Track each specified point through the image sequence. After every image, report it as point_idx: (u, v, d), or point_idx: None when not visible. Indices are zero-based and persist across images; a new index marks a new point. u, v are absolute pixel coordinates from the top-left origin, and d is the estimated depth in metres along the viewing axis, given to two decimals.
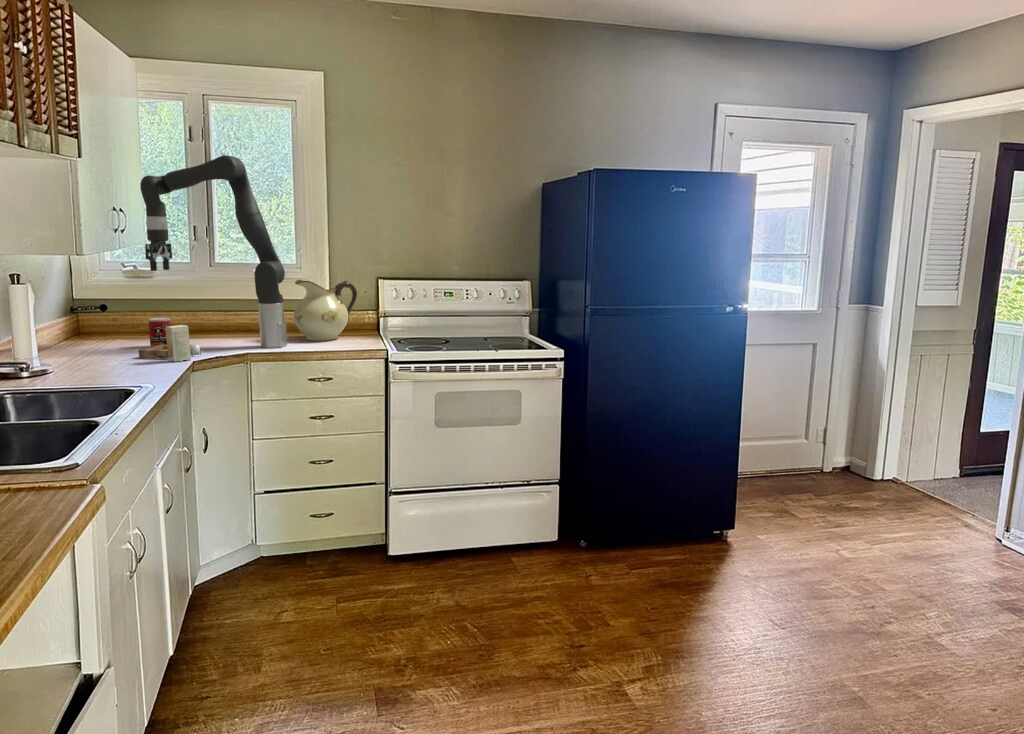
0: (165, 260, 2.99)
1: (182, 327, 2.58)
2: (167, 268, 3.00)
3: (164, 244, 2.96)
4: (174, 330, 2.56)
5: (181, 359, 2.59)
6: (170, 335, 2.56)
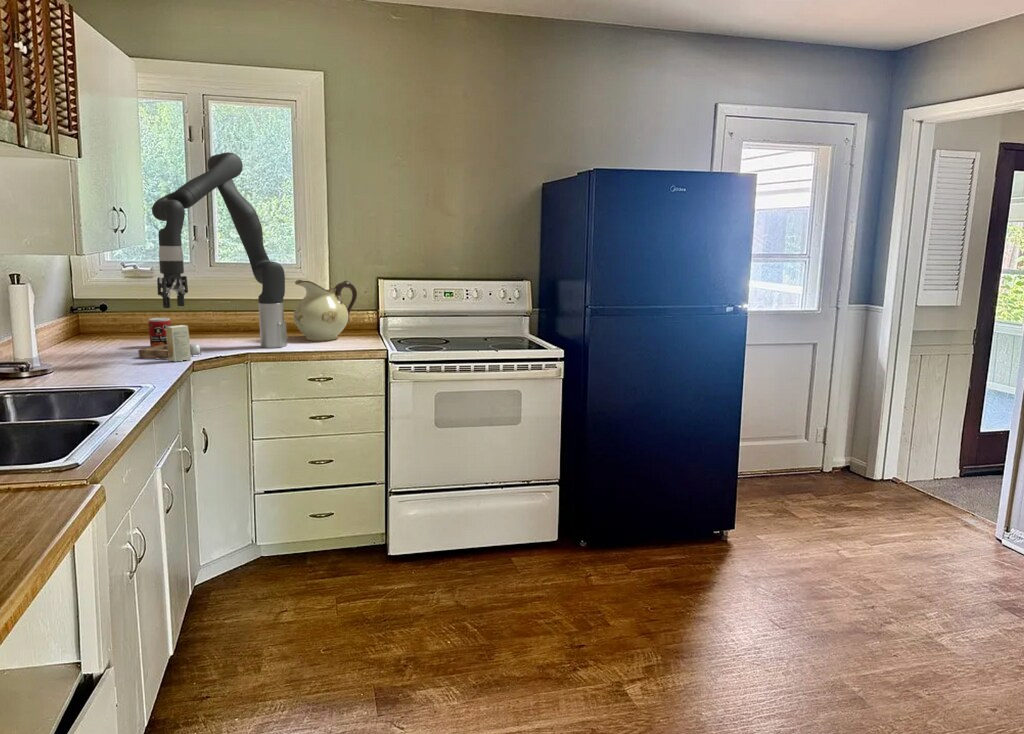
0: (180, 295, 2.62)
1: (182, 327, 2.58)
2: (182, 304, 2.62)
3: (179, 277, 2.59)
4: (174, 330, 2.56)
5: (181, 359, 2.59)
6: (170, 335, 2.56)
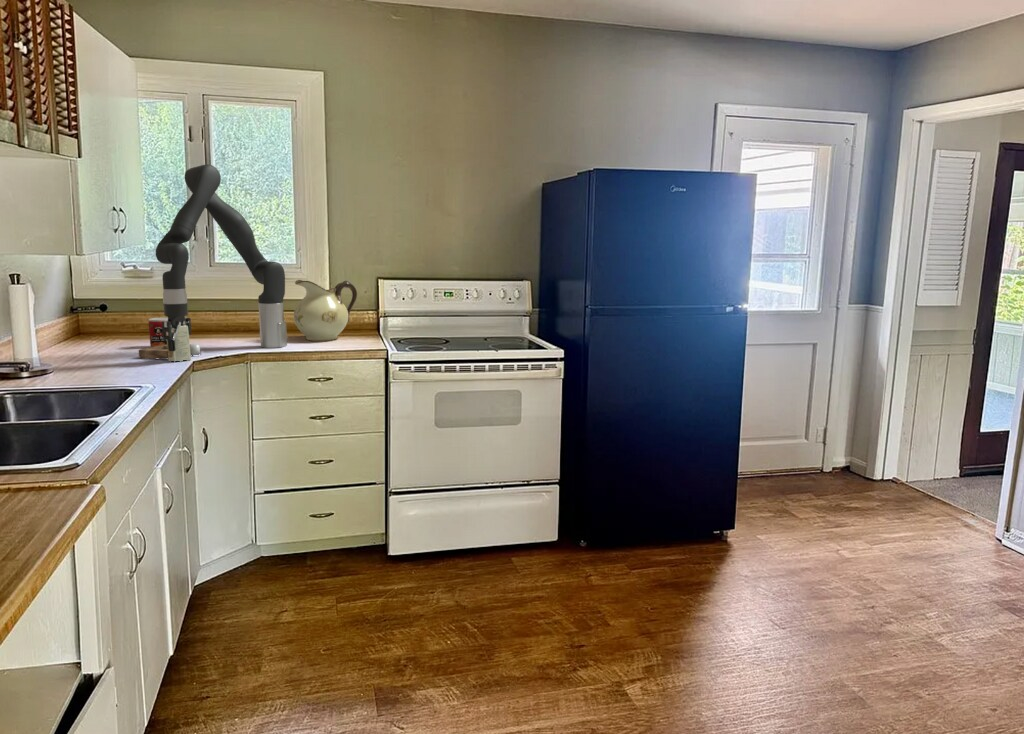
0: None
1: (182, 327, 2.58)
2: None
3: (183, 319, 2.61)
4: (174, 330, 2.56)
5: (181, 359, 2.59)
6: None
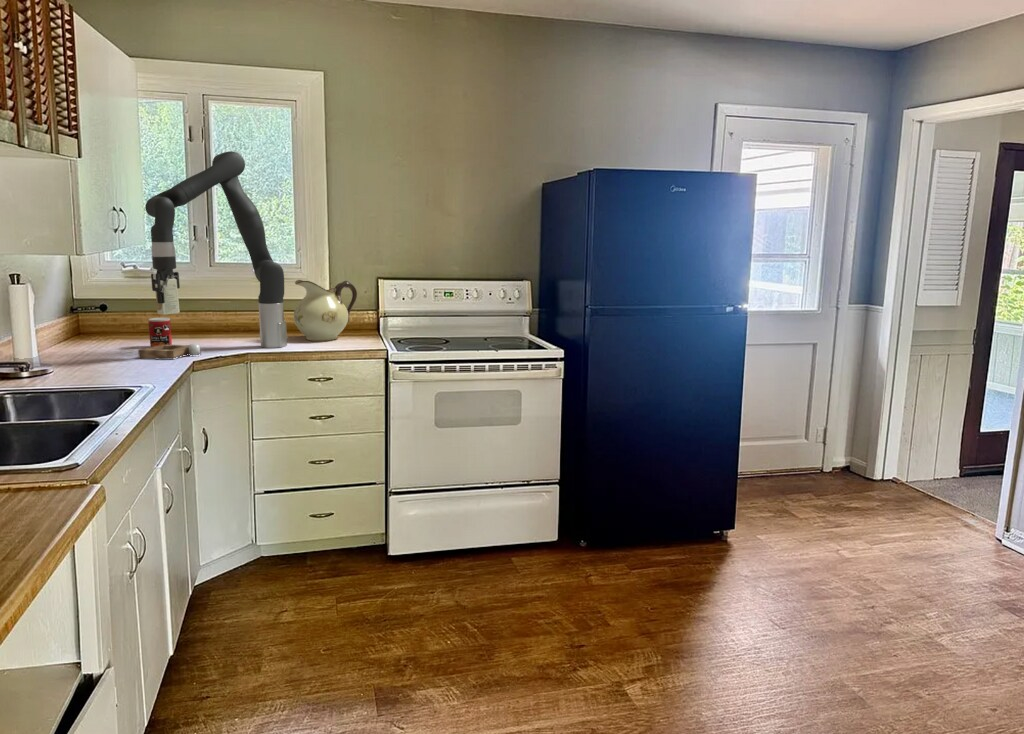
0: None
1: (171, 280, 2.63)
2: None
3: (171, 272, 2.66)
4: None
5: (170, 311, 2.64)
6: None
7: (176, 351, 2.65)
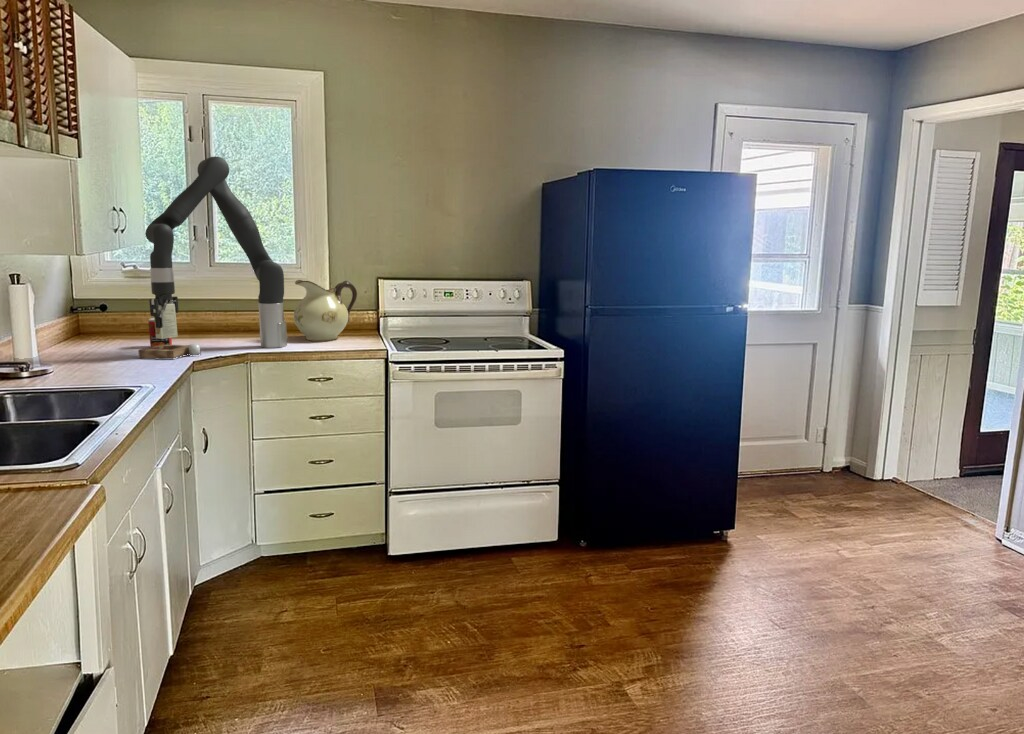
0: None
1: (169, 305, 2.68)
2: None
3: (170, 297, 2.70)
4: None
5: (168, 336, 2.68)
6: None
7: (176, 351, 2.65)
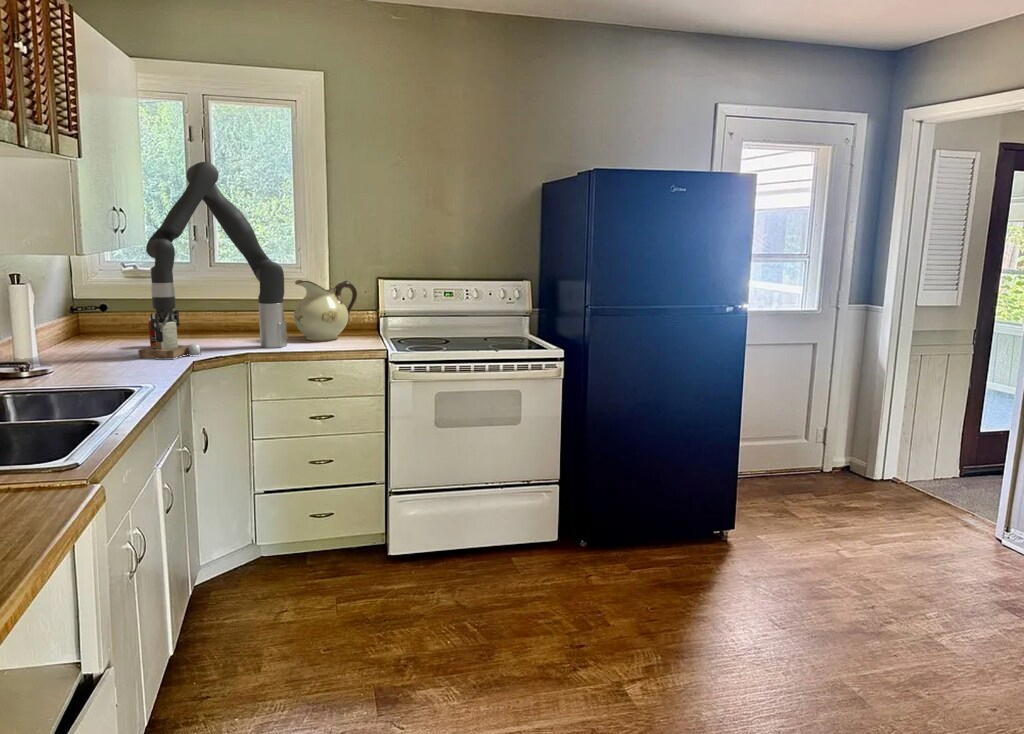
0: None
1: (170, 323, 2.68)
2: None
3: (171, 312, 2.71)
4: None
5: None
6: None
7: (176, 351, 2.65)
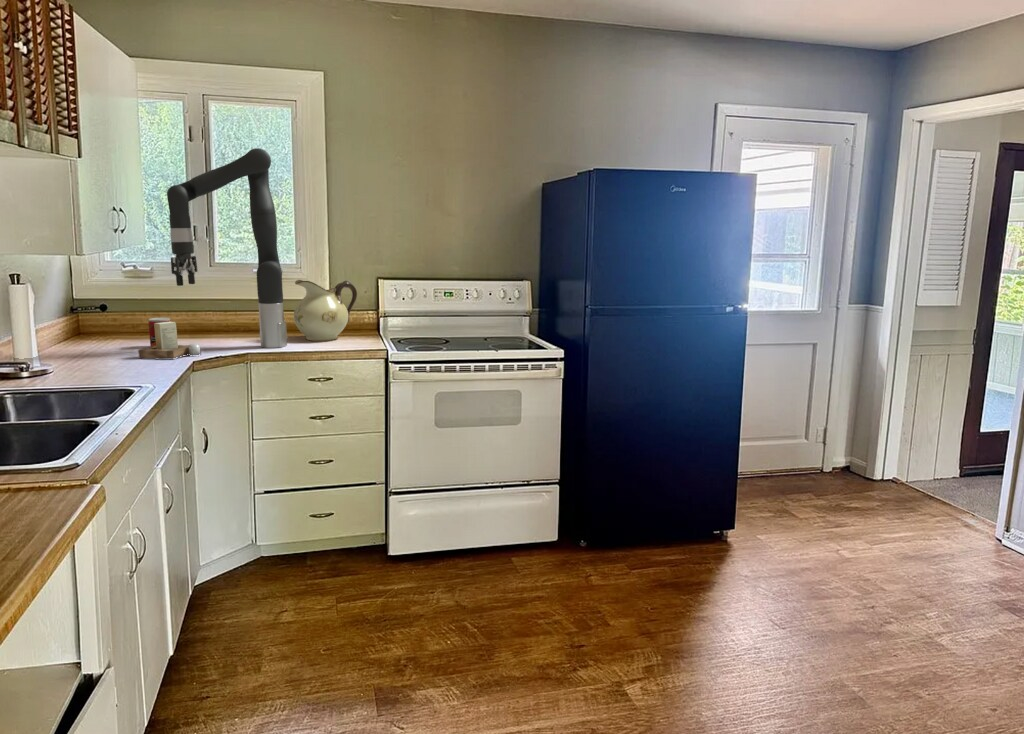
0: (190, 274, 2.83)
1: (170, 323, 2.68)
2: (193, 282, 2.84)
3: (189, 257, 2.80)
4: (162, 327, 2.66)
5: None
6: (158, 331, 2.66)
7: (176, 351, 2.65)
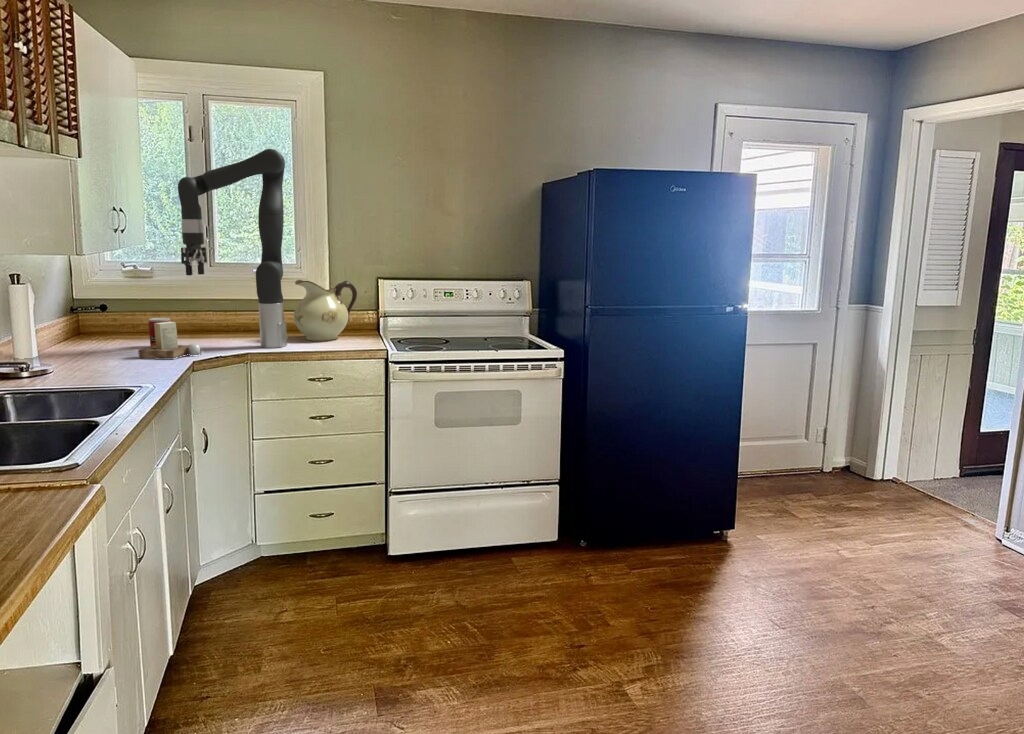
0: (200, 264, 2.90)
1: (170, 323, 2.68)
2: (202, 272, 2.90)
3: (199, 248, 2.87)
4: (162, 327, 2.66)
5: None
6: (158, 331, 2.66)
7: (176, 351, 2.65)
